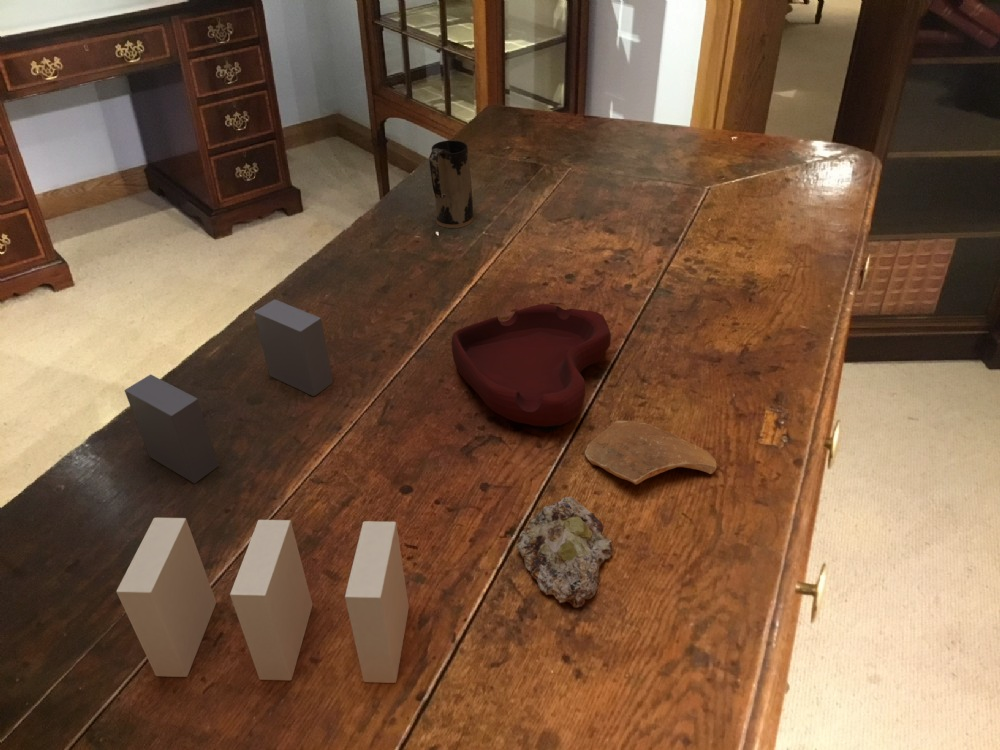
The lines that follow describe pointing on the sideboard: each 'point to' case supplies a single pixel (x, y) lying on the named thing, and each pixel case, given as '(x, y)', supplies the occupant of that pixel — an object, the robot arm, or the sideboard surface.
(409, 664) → the sideboard surface
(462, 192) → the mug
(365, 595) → the white books
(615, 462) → the pottery shard
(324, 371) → the grey books
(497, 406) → the ashtray
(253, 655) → the white book
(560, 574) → the mineral rock
